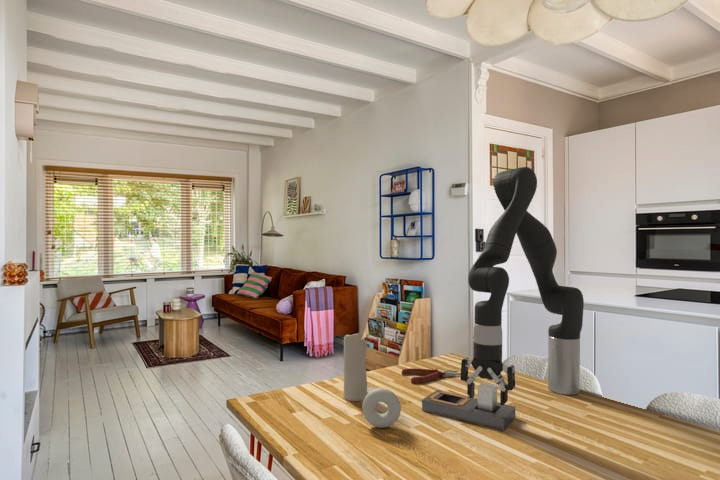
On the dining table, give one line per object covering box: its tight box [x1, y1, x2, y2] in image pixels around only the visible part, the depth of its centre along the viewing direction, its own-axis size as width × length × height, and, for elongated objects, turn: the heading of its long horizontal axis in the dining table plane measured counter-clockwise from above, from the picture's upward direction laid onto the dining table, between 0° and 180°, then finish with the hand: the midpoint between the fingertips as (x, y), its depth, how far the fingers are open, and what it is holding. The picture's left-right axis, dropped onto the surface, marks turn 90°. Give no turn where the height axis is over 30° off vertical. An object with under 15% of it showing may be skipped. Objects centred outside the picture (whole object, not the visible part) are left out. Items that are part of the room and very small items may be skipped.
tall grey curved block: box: [343, 333, 378, 402], centre depth 139 cm, size 7×14×20 cm, turn 148°
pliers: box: [401, 367, 461, 385], centre depth 156 cm, size 12×20×3 cm, turn 104°
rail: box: [421, 389, 516, 432], centre depth 124 cm, size 10×23×3 cm, turn 55°
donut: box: [361, 387, 402, 429], centre depth 115 cm, size 10×4×10 cm, turn 86°
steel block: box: [477, 381, 498, 413], centre depth 121 cm, size 4×4×9 cm
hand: (486, 400), depth 121 cm, fingers open, 8 cm apart
